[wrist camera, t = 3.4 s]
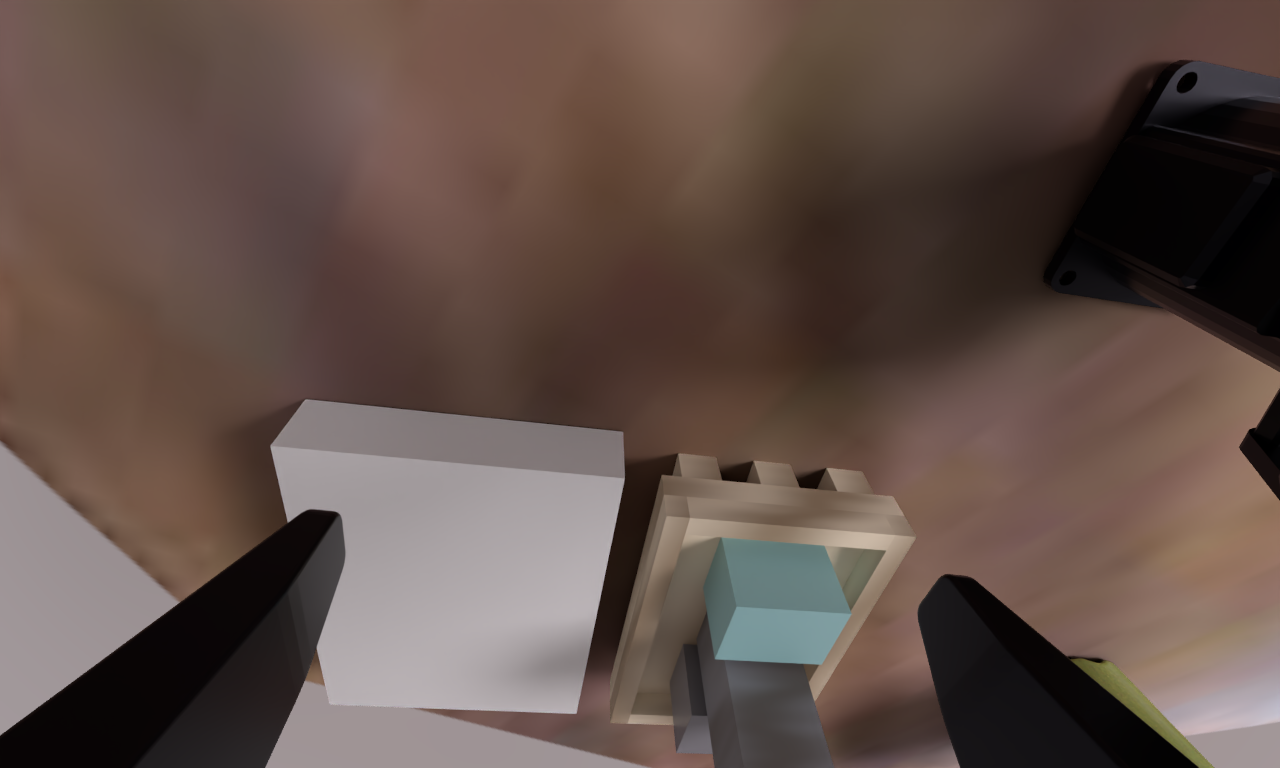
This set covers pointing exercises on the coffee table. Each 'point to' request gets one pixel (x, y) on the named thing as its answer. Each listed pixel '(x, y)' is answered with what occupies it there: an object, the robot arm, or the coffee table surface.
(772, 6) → the coffee table surface
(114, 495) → the coffee table surface
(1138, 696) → the plant pot
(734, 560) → the teal block
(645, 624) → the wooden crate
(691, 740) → the charcoal block
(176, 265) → the coffee table surface
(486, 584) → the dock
